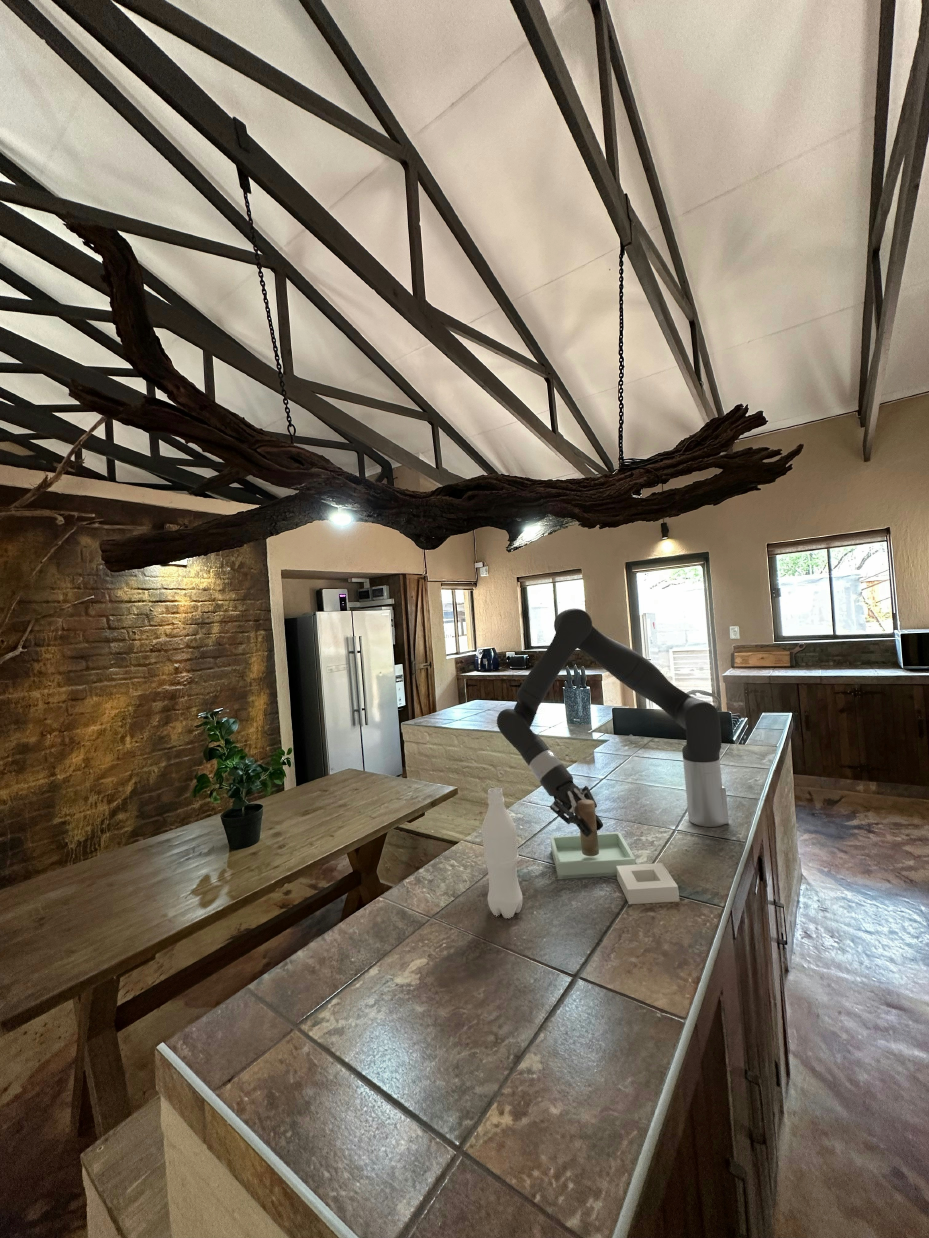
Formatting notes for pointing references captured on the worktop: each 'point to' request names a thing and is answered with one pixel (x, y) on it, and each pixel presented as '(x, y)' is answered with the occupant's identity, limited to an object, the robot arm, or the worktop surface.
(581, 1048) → the worktop surface
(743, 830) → the worktop surface
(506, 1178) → the worktop surface
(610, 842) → the tray
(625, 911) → the worktop surface
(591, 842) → the dowel
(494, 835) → the water bottle
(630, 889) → the dowel block
